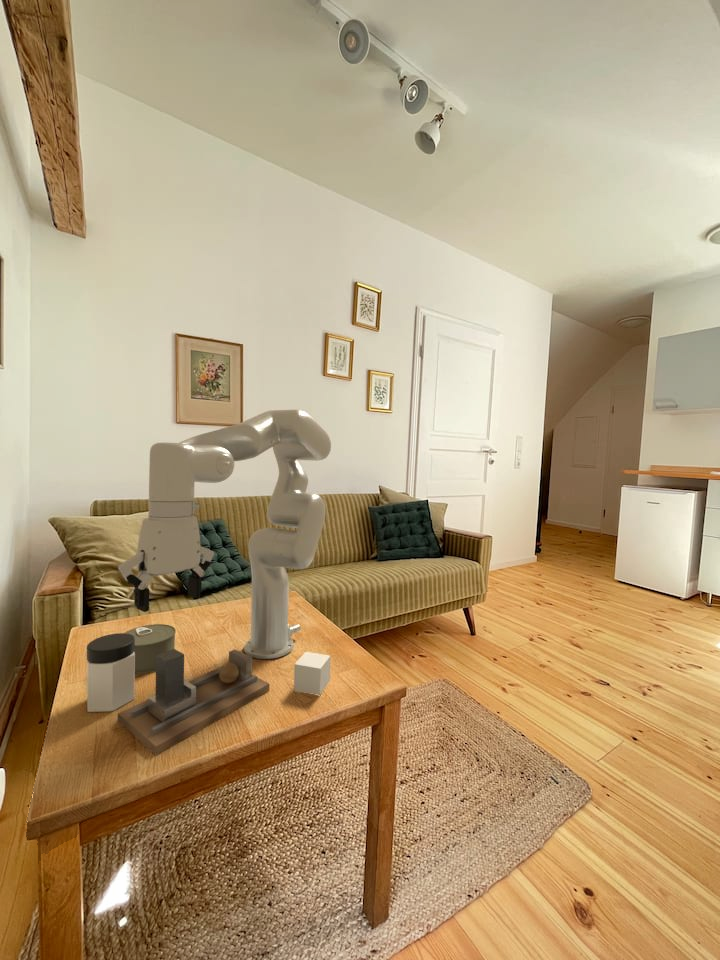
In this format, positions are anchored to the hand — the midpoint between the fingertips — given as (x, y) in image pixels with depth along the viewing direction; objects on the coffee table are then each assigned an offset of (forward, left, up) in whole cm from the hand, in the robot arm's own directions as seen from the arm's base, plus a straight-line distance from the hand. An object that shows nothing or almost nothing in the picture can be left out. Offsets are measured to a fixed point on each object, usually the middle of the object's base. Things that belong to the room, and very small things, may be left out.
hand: (169, 602), depth 72 cm
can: (-8, -25, -23) cm, 35 cm away
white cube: (-25, +13, -23) cm, 36 cm away
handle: (-1, 0, -20) cm, 20 cm away
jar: (+4, -15, -22) cm, 27 cm away
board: (-6, 0, -22) cm, 23 cm away
